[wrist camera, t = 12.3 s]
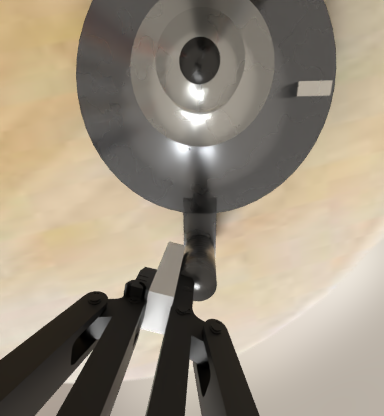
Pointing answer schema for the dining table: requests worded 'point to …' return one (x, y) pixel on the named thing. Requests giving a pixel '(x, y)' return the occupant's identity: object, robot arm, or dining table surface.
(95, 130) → the turntable
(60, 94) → the dining table surface
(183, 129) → the cover
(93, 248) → the dining table surface
